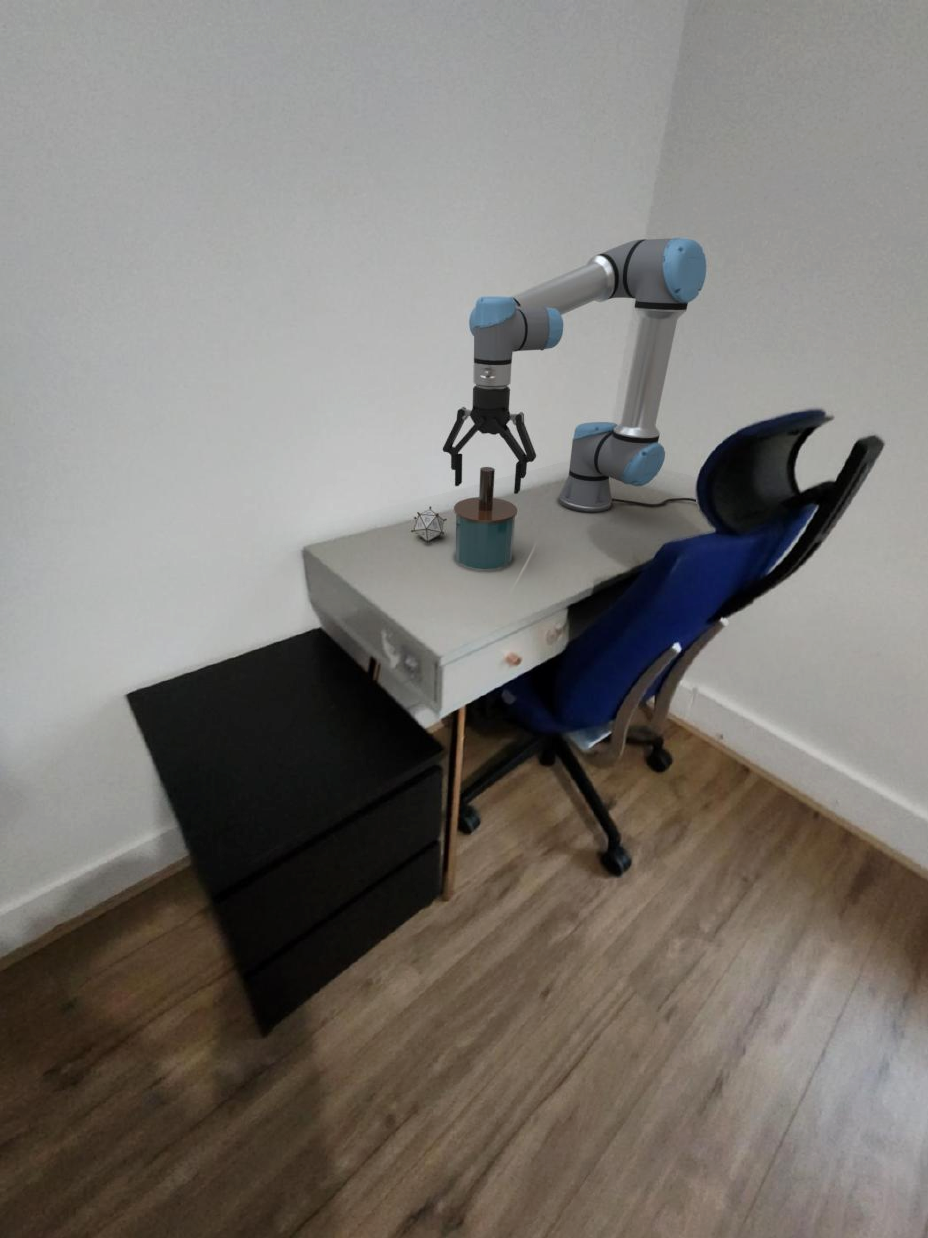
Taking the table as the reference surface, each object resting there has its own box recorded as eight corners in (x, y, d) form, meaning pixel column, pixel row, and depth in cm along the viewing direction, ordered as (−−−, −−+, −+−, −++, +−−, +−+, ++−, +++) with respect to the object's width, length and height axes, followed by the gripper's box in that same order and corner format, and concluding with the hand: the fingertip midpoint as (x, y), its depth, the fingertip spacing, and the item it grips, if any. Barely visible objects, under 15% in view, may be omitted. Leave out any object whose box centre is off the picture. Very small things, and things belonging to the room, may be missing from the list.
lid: (523, 506, 128) (527, 463, 122) (508, 529, 116) (511, 483, 111) (465, 498, 132) (466, 456, 126) (444, 520, 120) (445, 474, 115)
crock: (517, 550, 134) (521, 504, 128) (503, 575, 123) (506, 526, 117) (465, 542, 137) (466, 496, 131) (447, 565, 127) (447, 517, 120)
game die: (427, 549, 142) (430, 512, 143) (451, 547, 136) (454, 508, 137) (402, 542, 135) (405, 503, 136) (427, 539, 129) (430, 498, 130)
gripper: (427, 384, 110) (428, 486, 121) (549, 393, 103) (539, 500, 115) (439, 378, 116) (440, 476, 127) (556, 387, 109) (545, 489, 121)
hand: (487, 488), depth 121 cm, fingers open, 13 cm apart
